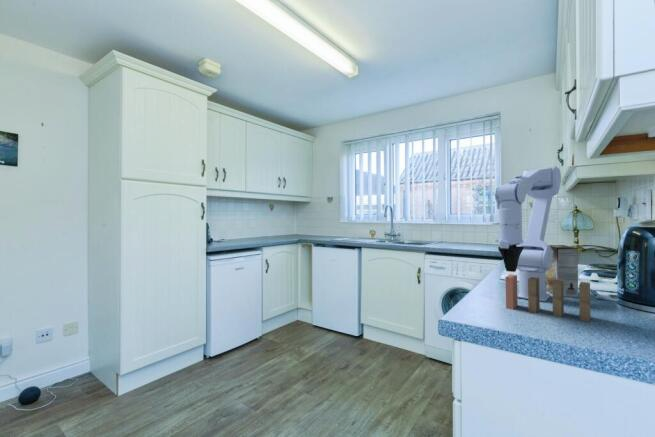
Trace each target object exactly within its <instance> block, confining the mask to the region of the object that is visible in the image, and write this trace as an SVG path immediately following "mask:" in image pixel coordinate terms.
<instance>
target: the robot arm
mask: <svg viewBox="0 0 655 437" xmlns="http://www.w3.org/2000/svg"><path fill="white" fill-rule="evenodd" d="M561 182H562V175H561V170H560V168H559V167H558V166H553V167H546V168H535V169H526V170H523V173H522V174H518V175H515V176H514V178H513V179H511V180H510V181H508V183H506V184H501V185H499V186H498V187H496V189H495V193H494V199H495V203H496V208H497V210H498V213H499V214H498V217H499V219H498V222H499V223H498V226H499V228H498V229H499V231H498V232H499V234H498V235H499V238H498V239H497V238H496V239H494V241H495V242H496V243H497V242H498V243H499V246H498V247H497V248H498V251H499V253H500V254H501V257H502V259H503V264H504V267H505V270H506V272H511V273H515V272H516V271H517V270H518V288H519V289H518V291H519V292H518V293H517V299H525V300H528V279H529V278H530V277H539V295H540V302H546V301H547V300H548V299H549V298H550V297H551V294H550V293H547V291H546V271H548V270H549V269H550V268H551V266H552V249H551V247H550V246H549V245H550V244H547V242H545V238H546V237H545V236H546V232H547V225H548V221H549V215H550V210H551V205H552V201H553V197H554V196H556V195H557V194H559V191H560V188H561ZM526 196H529V197H531V198H533V204H532V208H531V213H530V218H529V222H528V223H529V224H528V226H527V227H528V228H527V232H526V237H525V239H524V240H523V215H522V214H523V208H522V206H523V203H524V202H525V199H526Z"/></svg>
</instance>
